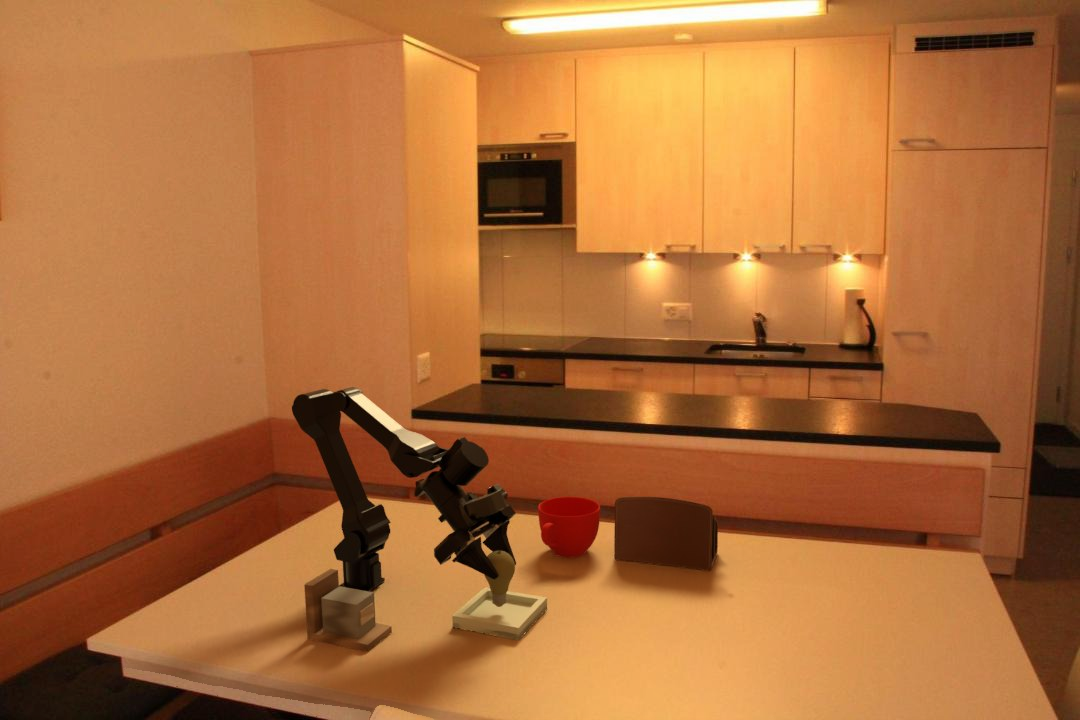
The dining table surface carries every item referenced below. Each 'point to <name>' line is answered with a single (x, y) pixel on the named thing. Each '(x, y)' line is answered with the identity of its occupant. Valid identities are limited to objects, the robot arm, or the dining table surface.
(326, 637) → the bookend
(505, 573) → the light bulb
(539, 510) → the ceramic cup
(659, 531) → the letter holder
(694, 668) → the dining table surface
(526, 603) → the tray
